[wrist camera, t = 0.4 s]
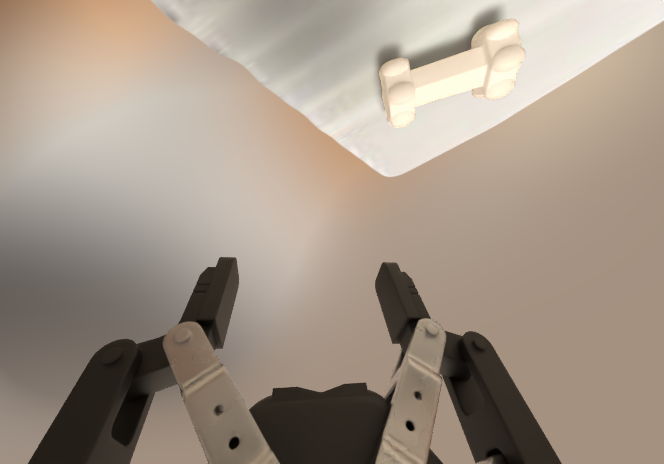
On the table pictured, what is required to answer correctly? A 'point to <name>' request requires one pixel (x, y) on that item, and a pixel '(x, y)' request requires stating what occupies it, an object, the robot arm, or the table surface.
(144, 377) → the robot arm
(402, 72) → the white bone
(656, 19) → the table surface
